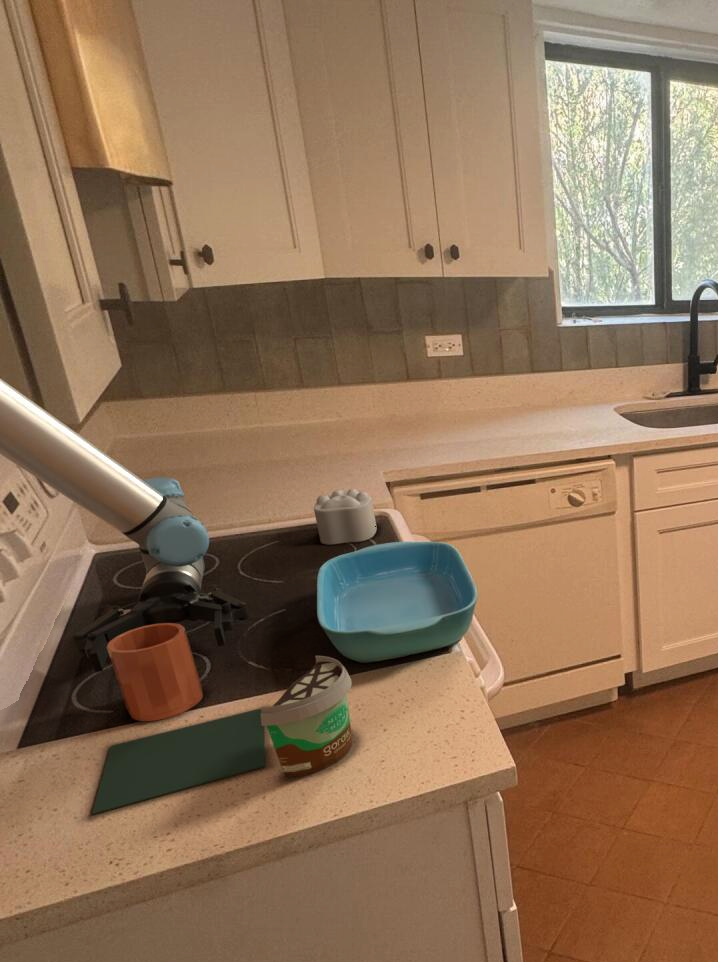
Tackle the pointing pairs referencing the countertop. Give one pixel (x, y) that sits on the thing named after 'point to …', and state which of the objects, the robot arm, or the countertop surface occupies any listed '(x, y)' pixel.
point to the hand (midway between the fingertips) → (159, 649)
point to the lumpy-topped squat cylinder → (345, 517)
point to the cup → (155, 671)
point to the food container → (312, 719)
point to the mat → (181, 760)
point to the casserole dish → (395, 600)
